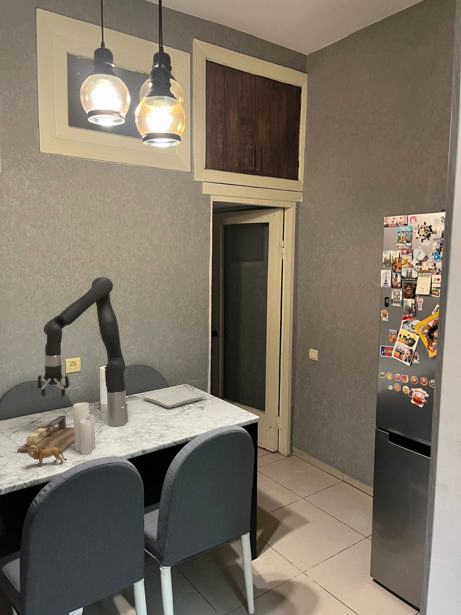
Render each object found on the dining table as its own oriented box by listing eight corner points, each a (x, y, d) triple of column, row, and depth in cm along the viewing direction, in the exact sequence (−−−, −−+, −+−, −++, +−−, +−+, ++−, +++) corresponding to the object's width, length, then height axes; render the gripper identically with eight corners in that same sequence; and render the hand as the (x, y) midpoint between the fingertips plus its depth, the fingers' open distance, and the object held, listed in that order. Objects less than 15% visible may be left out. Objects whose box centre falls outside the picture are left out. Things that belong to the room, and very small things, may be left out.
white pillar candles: (72, 448, 204) (70, 404, 202) (87, 444, 209) (85, 401, 207) (84, 455, 196) (82, 410, 194) (100, 450, 201) (98, 406, 199)
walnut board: (88, 430, 226) (87, 415, 226) (61, 453, 199) (60, 436, 198) (49, 429, 228) (48, 414, 228) (17, 452, 201) (16, 435, 200)
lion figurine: (28, 470, 183) (27, 448, 182) (28, 465, 188) (27, 443, 187) (67, 463, 189) (66, 442, 188) (66, 458, 194) (65, 437, 193)
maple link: (43, 432, 219) (43, 423, 219) (51, 432, 219) (51, 423, 218) (24, 446, 203) (24, 436, 202) (33, 446, 202) (32, 436, 202)
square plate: (178, 392, 294) (178, 386, 293) (206, 401, 274) (205, 394, 273) (142, 401, 275) (141, 395, 275) (168, 411, 255) (168, 404, 255)
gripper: (35, 365, 216) (36, 398, 219) (66, 365, 218) (67, 398, 220) (39, 361, 224) (40, 393, 226) (70, 361, 226) (70, 393, 228)
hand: (53, 396), depth 223 cm, fingers open, 8 cm apart
